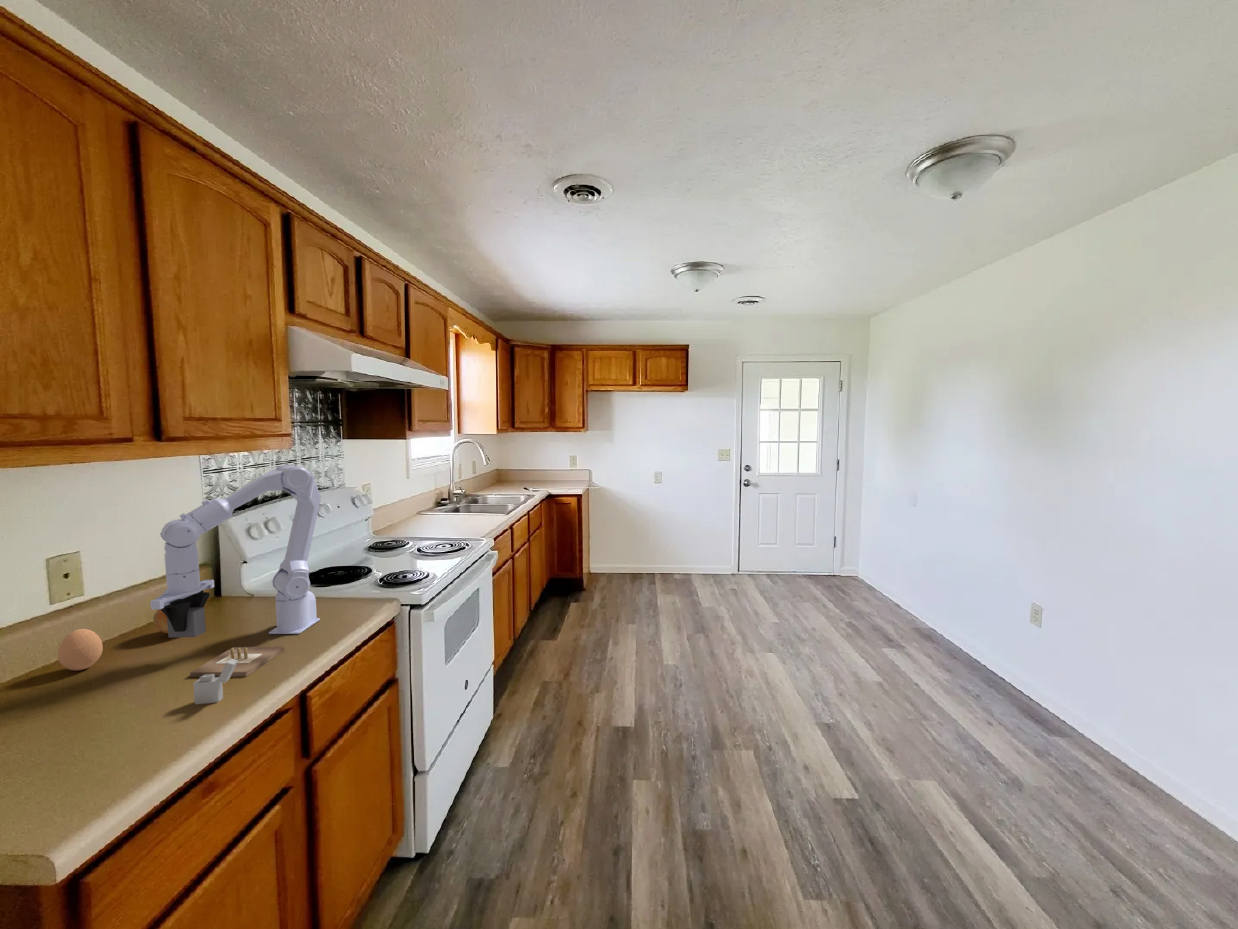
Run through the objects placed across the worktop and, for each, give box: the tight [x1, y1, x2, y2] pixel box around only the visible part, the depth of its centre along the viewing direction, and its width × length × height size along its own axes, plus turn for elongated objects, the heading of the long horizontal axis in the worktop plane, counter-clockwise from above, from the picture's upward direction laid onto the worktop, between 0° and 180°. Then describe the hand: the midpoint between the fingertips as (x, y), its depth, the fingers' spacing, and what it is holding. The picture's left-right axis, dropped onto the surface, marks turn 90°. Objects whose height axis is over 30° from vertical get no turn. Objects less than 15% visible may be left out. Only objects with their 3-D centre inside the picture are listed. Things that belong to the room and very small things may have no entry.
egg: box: [57, 628, 104, 671], centre depth 106 cm, size 7×7×9 cm
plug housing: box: [167, 606, 207, 638], centre depth 111 cm, size 3×6×6 cm, turn 92°
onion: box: [152, 609, 205, 634], centre depth 125 cm, size 10×10×10 cm
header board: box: [189, 646, 285, 678], centre depth 109 cm, size 12×12×4 cm
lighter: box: [192, 659, 238, 706], centre depth 94 cm, size 7×2×8 cm, turn 103°
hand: (186, 627), depth 112 cm, fingers closed on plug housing, 3 cm apart
